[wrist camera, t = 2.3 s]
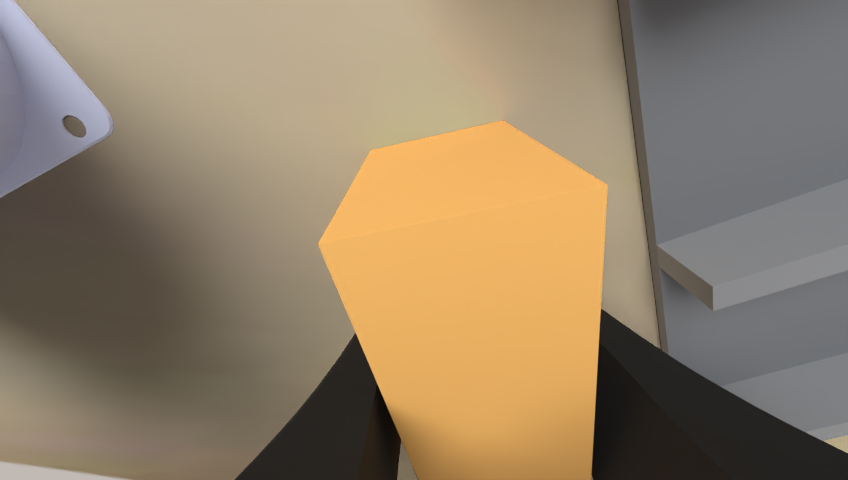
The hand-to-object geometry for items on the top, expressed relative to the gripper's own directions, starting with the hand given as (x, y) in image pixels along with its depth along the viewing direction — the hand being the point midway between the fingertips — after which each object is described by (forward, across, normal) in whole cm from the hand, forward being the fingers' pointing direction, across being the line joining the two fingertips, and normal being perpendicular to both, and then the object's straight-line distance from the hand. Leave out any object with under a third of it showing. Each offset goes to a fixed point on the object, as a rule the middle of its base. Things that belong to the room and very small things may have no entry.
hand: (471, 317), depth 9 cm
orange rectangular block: (+1, 0, 0) cm, 1 cm away
